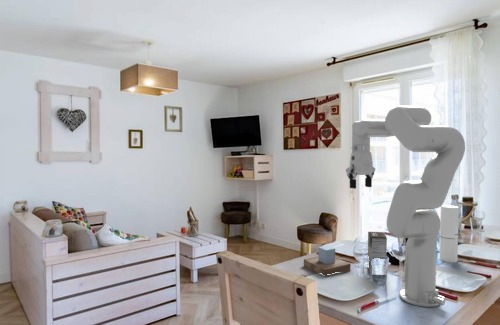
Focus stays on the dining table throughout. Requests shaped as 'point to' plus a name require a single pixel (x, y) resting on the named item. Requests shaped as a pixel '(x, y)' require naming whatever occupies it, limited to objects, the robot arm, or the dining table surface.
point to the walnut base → (326, 266)
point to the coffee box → (376, 247)
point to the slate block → (326, 254)
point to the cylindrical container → (449, 233)
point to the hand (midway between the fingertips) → (360, 187)
